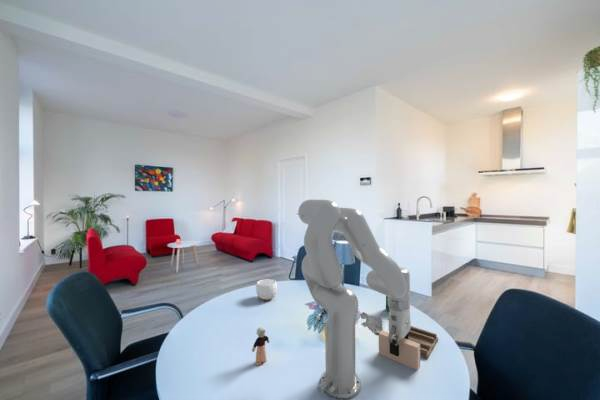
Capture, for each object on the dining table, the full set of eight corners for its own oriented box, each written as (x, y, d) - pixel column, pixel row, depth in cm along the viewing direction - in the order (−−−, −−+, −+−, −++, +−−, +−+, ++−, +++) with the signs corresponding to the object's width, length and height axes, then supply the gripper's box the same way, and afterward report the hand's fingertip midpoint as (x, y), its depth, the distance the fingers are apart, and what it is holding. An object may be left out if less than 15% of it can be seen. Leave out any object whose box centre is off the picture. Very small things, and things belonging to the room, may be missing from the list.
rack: (427, 359, 94) (427, 352, 94) (385, 342, 104) (385, 336, 104) (438, 339, 106) (438, 334, 106) (399, 327, 116) (399, 321, 116)
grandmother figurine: (258, 369, 89) (258, 333, 89) (250, 365, 91) (250, 330, 91) (272, 357, 96) (272, 323, 96) (264, 353, 98) (264, 321, 98)
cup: (276, 302, 144) (276, 285, 144) (254, 303, 144) (254, 286, 144) (278, 294, 156) (278, 278, 156) (258, 294, 156) (258, 278, 156)
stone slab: (360, 311, 130) (380, 312, 127) (360, 315, 130) (381, 316, 128) (360, 331, 112) (384, 333, 110) (360, 335, 112) (384, 337, 110)
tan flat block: (417, 370, 88) (417, 347, 88) (378, 354, 97) (378, 333, 97) (420, 366, 90) (420, 343, 90) (382, 350, 100) (381, 330, 99)
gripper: (400, 314, 84) (401, 364, 85) (416, 297, 97) (417, 341, 98) (379, 307, 89) (379, 355, 90) (397, 292, 102) (397, 334, 103)
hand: (399, 348), depth 94 cm, fingers open, 9 cm apart
